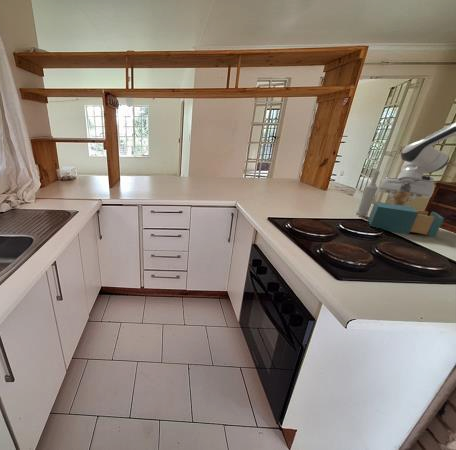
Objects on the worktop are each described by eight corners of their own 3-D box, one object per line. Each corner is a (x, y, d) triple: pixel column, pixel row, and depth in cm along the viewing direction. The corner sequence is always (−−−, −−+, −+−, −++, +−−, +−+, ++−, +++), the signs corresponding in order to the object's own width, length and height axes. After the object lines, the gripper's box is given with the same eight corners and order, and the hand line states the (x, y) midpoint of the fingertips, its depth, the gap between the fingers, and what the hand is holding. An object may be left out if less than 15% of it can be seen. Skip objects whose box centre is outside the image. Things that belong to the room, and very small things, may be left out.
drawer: (430, 230, 112) (439, 212, 109) (438, 237, 103) (448, 218, 100) (391, 223, 120) (398, 206, 117) (396, 230, 110) (403, 212, 107)
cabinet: (402, 226, 118) (411, 206, 114) (408, 234, 108) (418, 212, 104) (367, 220, 126) (374, 201, 122) (370, 227, 115) (378, 206, 112)
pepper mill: (397, 220, 128) (413, 182, 121) (398, 222, 124) (415, 183, 117) (385, 218, 130) (400, 181, 123) (386, 220, 127) (402, 182, 120)
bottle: (353, 213, 137) (368, 170, 129) (363, 214, 137) (379, 171, 128) (359, 216, 132) (375, 171, 124) (369, 217, 132) (386, 172, 123)
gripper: (383, 173, 131) (375, 192, 128) (438, 178, 117) (431, 200, 114) (381, 180, 135) (373, 199, 132) (433, 186, 122) (426, 207, 119)
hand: (400, 200), depth 123 cm, fingers closed on pepper mill, 5 cm apart
